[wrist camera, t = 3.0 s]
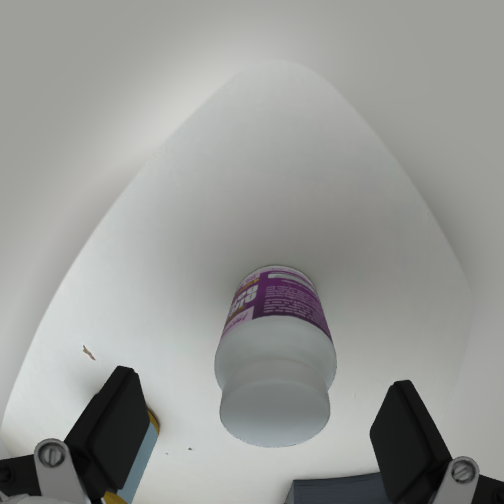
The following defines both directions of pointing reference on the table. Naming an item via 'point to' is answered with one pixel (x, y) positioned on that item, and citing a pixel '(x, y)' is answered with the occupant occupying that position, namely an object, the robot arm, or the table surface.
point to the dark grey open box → (339, 491)
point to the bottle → (136, 467)
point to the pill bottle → (275, 360)
